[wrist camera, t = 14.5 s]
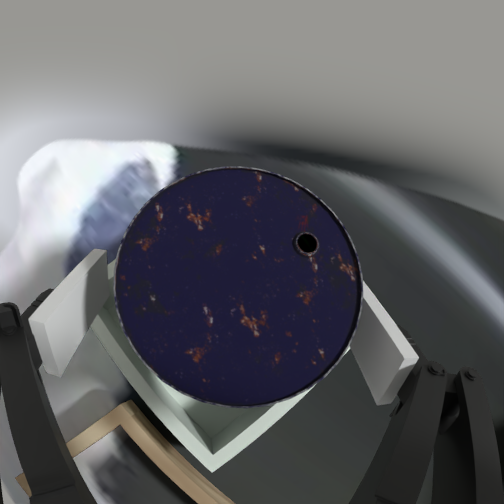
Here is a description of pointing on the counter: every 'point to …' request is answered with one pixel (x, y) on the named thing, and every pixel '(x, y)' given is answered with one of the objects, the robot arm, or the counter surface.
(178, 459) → the oak collar
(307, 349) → the navy cylindrical canister
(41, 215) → the counter surface
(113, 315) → the sage bin
